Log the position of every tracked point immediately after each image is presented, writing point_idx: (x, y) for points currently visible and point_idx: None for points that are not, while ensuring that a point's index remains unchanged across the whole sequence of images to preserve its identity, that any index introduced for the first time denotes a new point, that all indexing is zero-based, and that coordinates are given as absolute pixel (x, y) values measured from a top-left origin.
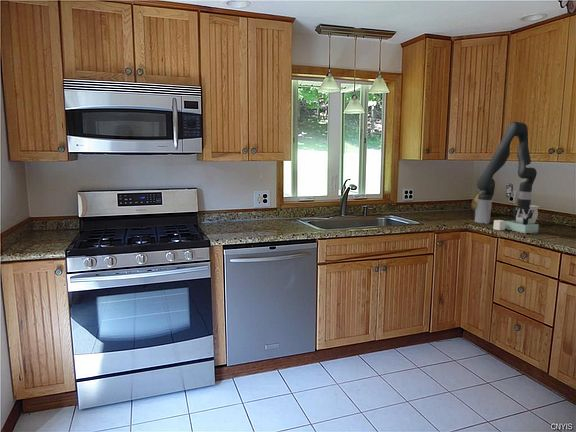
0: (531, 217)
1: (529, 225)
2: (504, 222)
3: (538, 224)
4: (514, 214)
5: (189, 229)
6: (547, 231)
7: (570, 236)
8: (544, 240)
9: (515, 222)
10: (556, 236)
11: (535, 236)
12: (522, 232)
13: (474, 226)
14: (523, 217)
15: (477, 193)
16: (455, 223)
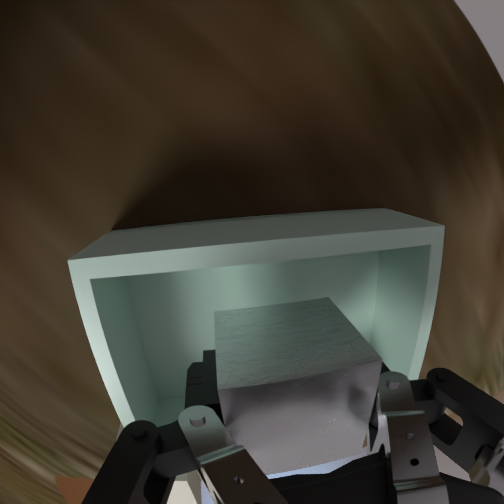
0: (456, 381)
1: (416, 372)
2: (190, 480)
3: (440, 226)
4: (155, 487)
5: None
6: (334, 21)
7: (501, 82)
8: (496, 364)
9: (109, 316)
10: (495, 186)
11: (447, 348)
12: None
13: (63, 473)
14: (324, 426)
15: None
16: (3, 473)
